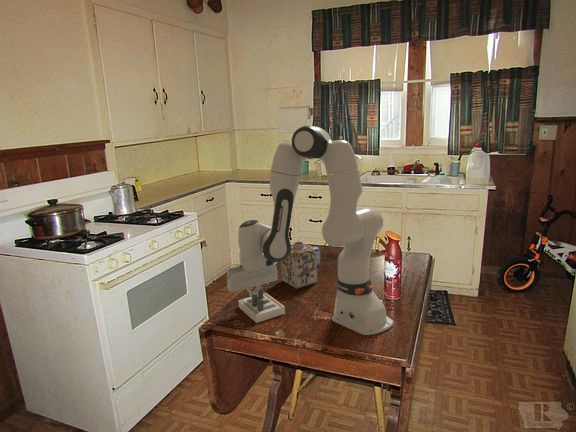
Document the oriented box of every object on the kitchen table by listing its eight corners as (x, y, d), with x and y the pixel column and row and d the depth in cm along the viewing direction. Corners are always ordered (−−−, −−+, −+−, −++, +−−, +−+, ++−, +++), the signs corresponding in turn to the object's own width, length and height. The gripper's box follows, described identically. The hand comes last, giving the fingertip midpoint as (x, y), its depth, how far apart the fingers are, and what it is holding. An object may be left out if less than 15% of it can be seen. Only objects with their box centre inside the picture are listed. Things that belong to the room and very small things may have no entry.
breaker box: (284, 313, 157) (284, 297, 155) (256, 323, 151) (255, 305, 150) (266, 299, 170) (265, 283, 168) (239, 307, 164) (237, 291, 162)
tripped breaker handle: (263, 297, 164) (262, 287, 163) (259, 298, 163) (258, 288, 162) (261, 295, 165) (260, 286, 164) (257, 296, 165) (257, 287, 164)
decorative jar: (303, 274, 193) (301, 237, 189) (318, 282, 184) (317, 243, 179) (281, 280, 187) (279, 242, 183) (295, 289, 178) (294, 249, 173)
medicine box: (306, 268, 200) (305, 251, 198) (301, 265, 204) (301, 248, 202) (320, 265, 204) (320, 248, 201) (315, 262, 207) (315, 245, 205)
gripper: (229, 271, 151) (232, 306, 155) (278, 259, 161) (280, 292, 165) (222, 266, 156) (225, 300, 160) (270, 254, 167) (272, 287, 170)
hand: (254, 296), depth 162 cm, fingers closed
